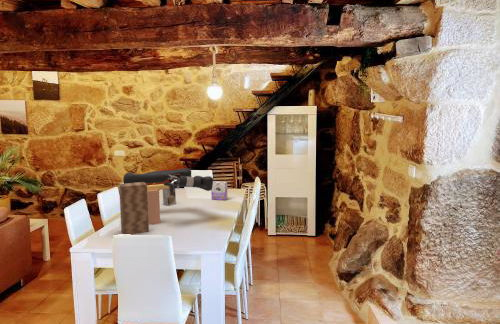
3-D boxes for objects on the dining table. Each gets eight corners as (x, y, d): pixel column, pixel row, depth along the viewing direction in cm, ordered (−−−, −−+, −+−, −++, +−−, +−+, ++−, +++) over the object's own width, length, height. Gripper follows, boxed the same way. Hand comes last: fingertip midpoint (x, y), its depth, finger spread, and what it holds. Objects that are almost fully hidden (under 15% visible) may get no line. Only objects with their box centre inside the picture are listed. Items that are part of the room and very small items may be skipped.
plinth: (145, 227, 264) (143, 181, 259) (148, 231, 255) (146, 184, 251) (121, 231, 257) (119, 184, 252) (123, 235, 248) (121, 186, 244)
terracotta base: (157, 220, 282) (156, 188, 279) (160, 223, 274) (159, 190, 271) (144, 221, 278) (143, 189, 275) (147, 224, 270) (146, 191, 267)
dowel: (167, 187, 280) (167, 183, 279) (168, 188, 277) (168, 184, 276) (136, 190, 270) (136, 186, 270) (137, 191, 267) (137, 187, 267)
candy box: (227, 199, 348) (227, 181, 346) (225, 200, 343) (225, 182, 341) (213, 198, 352) (213, 180, 350) (211, 199, 346) (210, 181, 344)
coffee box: (171, 202, 335) (170, 184, 333) (176, 204, 331) (175, 185, 329) (162, 204, 328) (162, 186, 326) (167, 206, 324) (167, 187, 322)
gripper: (185, 171, 276) (163, 169, 269) (188, 183, 265) (165, 182, 258) (183, 179, 280) (161, 177, 273) (186, 192, 269) (163, 190, 262)
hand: (163, 179), depth 266 cm, fingers open, 8 cm apart
